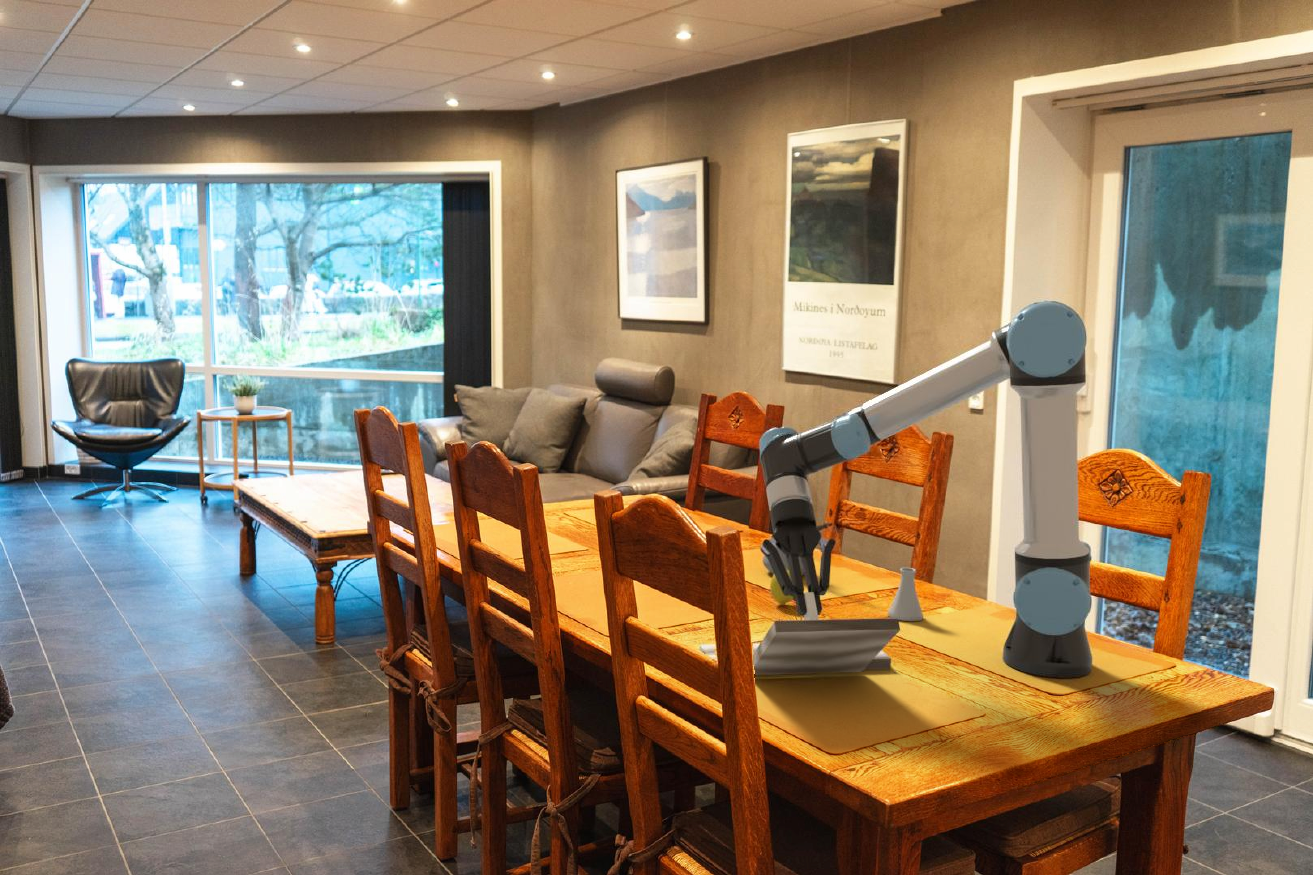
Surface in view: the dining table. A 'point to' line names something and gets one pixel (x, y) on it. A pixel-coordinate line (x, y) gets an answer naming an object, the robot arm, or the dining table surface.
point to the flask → (906, 599)
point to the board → (877, 663)
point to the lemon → (779, 591)
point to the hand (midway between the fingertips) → (813, 632)
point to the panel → (822, 645)
